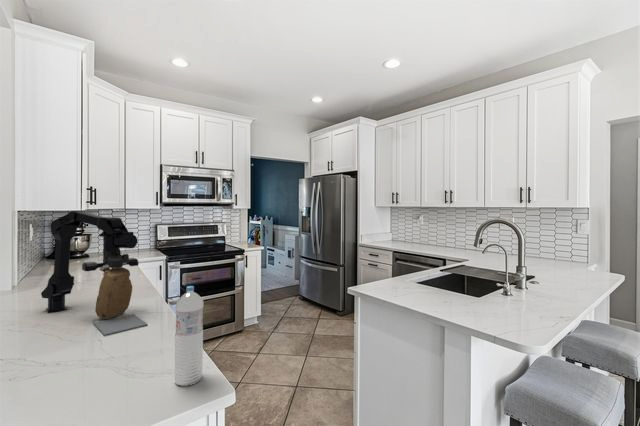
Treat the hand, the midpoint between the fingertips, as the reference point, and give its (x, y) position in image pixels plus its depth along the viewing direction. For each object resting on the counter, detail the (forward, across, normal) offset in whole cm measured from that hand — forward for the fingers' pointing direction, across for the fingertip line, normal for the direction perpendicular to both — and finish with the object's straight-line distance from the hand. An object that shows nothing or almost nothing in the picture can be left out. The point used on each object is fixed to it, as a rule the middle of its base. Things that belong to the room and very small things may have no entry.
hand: (111, 284), depth 126 cm
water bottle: (+14, +1, -69) cm, 71 cm away
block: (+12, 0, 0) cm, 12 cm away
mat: (+13, 0, -13) cm, 19 cm away
